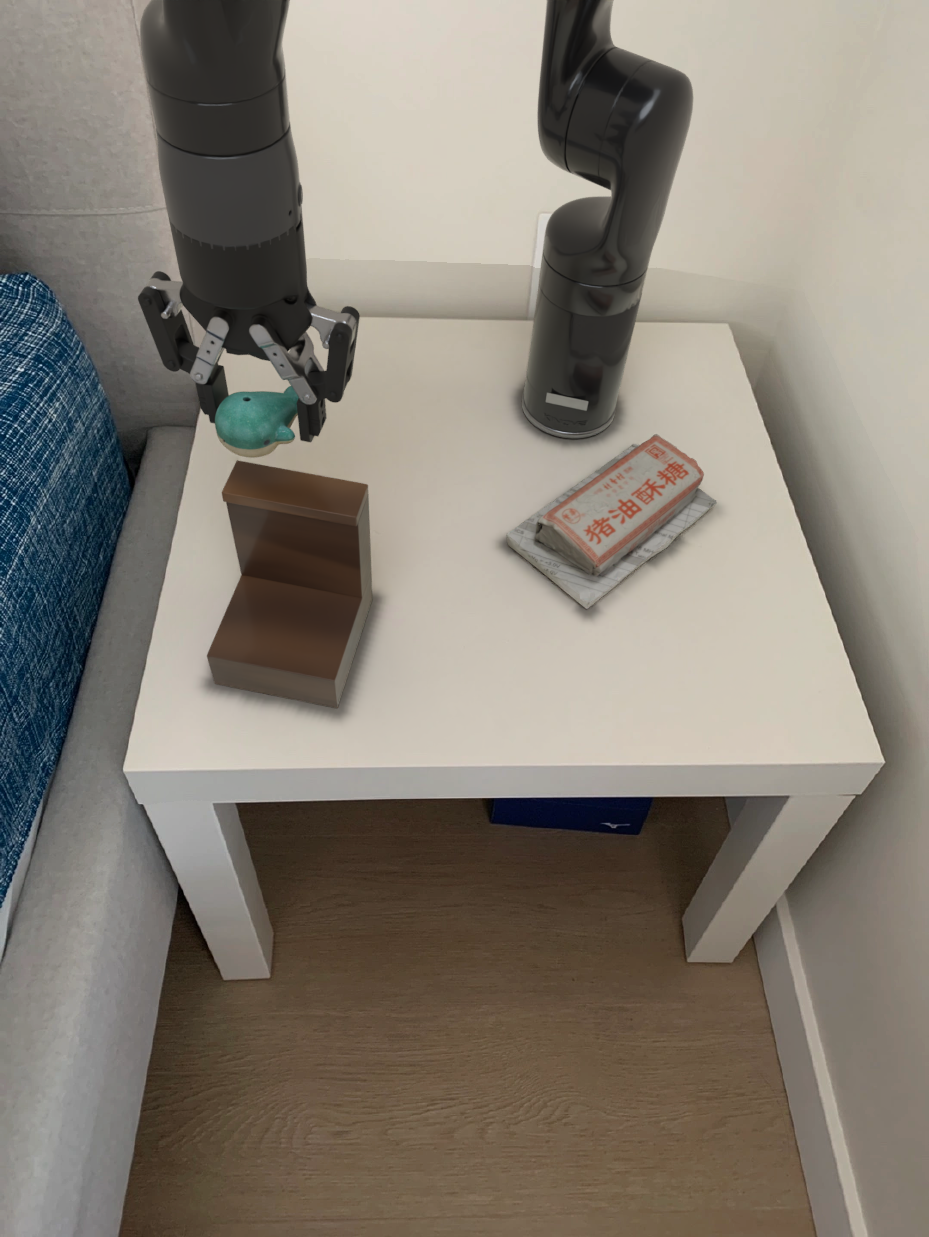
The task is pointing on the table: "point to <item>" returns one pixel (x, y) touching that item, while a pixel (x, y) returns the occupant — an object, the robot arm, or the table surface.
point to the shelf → (294, 583)
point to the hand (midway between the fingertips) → (265, 424)
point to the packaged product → (614, 519)
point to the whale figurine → (256, 421)
